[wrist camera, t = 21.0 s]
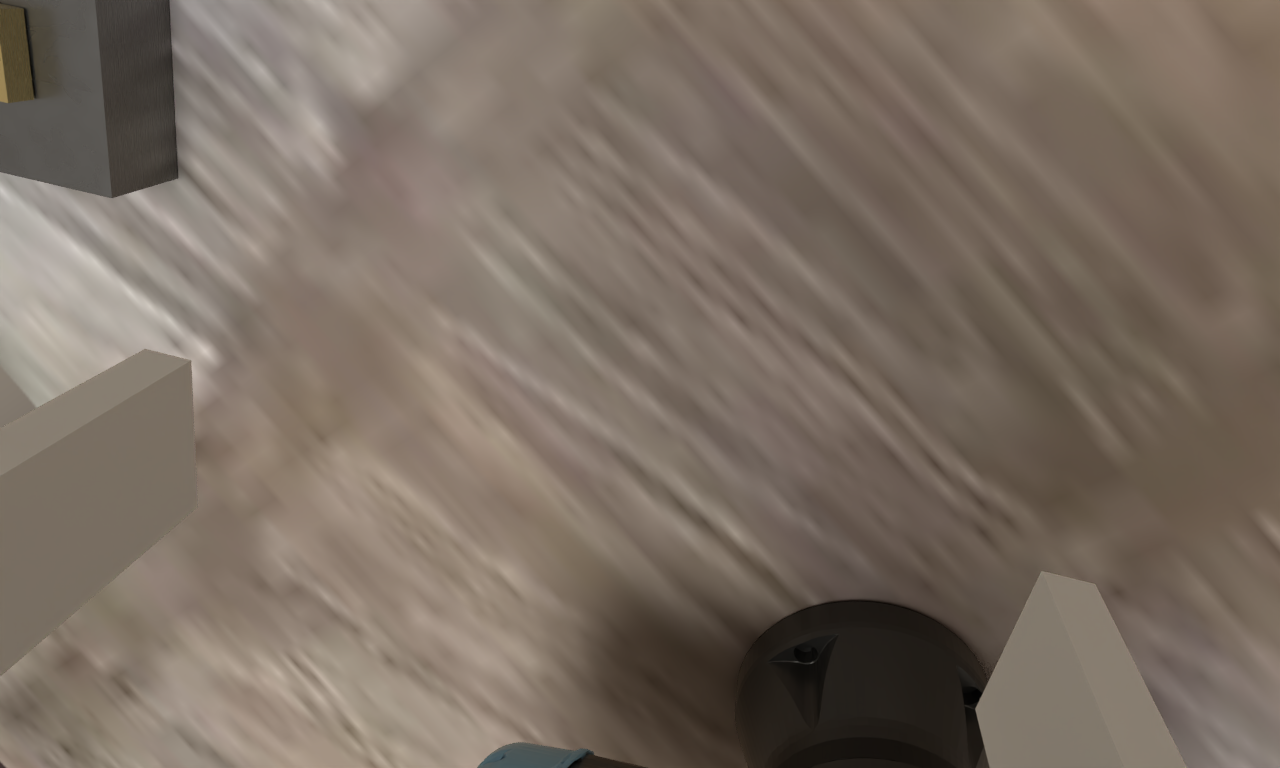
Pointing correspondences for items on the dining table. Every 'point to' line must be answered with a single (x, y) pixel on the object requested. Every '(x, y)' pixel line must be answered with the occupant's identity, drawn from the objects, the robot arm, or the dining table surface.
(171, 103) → the socket block
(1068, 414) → the dining table surface
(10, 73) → the golden block
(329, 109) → the dining table surface
